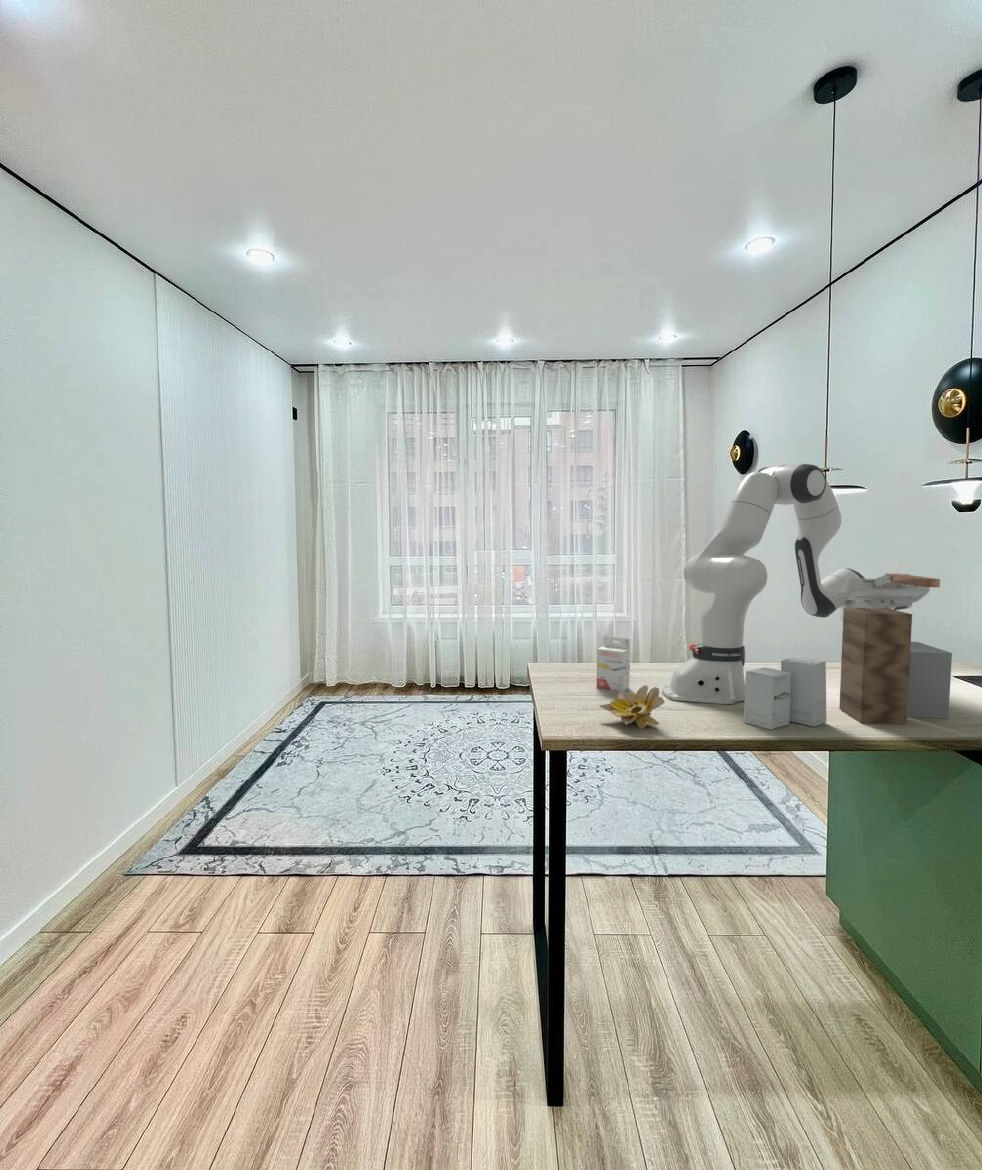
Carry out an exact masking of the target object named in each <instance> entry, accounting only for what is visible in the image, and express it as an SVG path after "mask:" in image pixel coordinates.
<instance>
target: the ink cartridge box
mask: <svg viewBox="0 0 982 1170" xmlns="http://www.w3.org/2000/svg"><path fill="white" fill-rule="evenodd" d="M616 641H617V642H620V643H616ZM596 651H597V653H596V688H597V689H604V690H609V689H610V691H615V690H617V692H622V691H624V692H626V690H628V689H630V676H631V675H630V671H631V670H630V669H631V668H630V667H631V664H630V663H631V661H630V660H631V659H630V658H631V649H630V639H629V638H628V637H627V638H626V637H624V638H623V637H619V636H618V637H617V636H615V637H614V636H606V635H604V636H603V646H601V647H598V648H597V650H596Z"/></svg>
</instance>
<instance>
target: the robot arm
mask: <svg viewBox="0 0 982 1170" xmlns="http://www.w3.org/2000/svg"><path fill="white" fill-rule="evenodd" d="M824 473H825V472H823V470H822V469H821V468H820V467H819V466H817V465H815V464H809V463H802V464H782V465H781V464H779V465H773V466H771V467H770V466H769V467H768V466H767V467H766V466H765V467H762V468H759V469H757V470H755V471H753V472H751V473H748V474H747V475H746V476H745V477H744V478H743V479H742V481H741V482H740V484H739V485H738V487H737V488H736V490H735V492H734V494H733V497H732V498H731V501H730V503H729V505H728V507H727V510H726V512H725V514H724V517H723V519H722V521H721V524H720V526H719V528H718V530H717V531H716V532H715V534H714V535H713V536H712V538H711V539H710V540H709V542H708V543H707V544H706V545H705V546H704V548H703V549H702V550H700V551H699V552H698V553H697V554H696V555H694V556H692V557H690V558H689V559H688V560H687V561H686V563H685V565H684V569H683V578H684V581H685V583H686V584H687V586H688V587H690V588H692V589H693V590H696V591H698V592H701V593H707V594H713V595H714V597H713V601H712V603H711V606H710V608H709V609H708V610H706V611H705V612H703V613H702V614H701V615H702V616H701V618H700V639H699V640H700V643H698V644H695V643H689V645H688V650H690V651H691V652H692V657H690V658H689V659H688V660H686V661H685V662H683V663H682V664H680V665H679V666H678V667H676V668H675V669H674V670H673V671H672V675H671V679H670V684H665V685H664V686H663V687H662V692H661V693H662V695H664V696H665V697H666V698H667V699H670V700H673V701H682V702H695V703H696V702H697V703H706V704H707V703H708V704H718V705H719V704H720V705H732V704H735V703H737V702H743V701H745V680H746V679H745V675H744V673H745V672H744V671H745V670H744V667H745V662H746V650H745V649H746V647H745V646H744V633H745V632H744V630H745V620H746V615H747V612H748V609H749V607H750V605H751V603H752V601H753V600H754V598H755V597H756V596H758V595H759V594H760V593H762V591H763V590H764V588H765V587H766V584H767V582H768V581H767V580H768V571H767V570H768V569H767V568H766V565H765V564H764V563H763V562H762V561H761V560H759V559H757V558H756V559H755V558H754V557H751V556H747V555H745V554H746V553H747V552H748V551H749V550H751V549H753V548H754V547H756V546H757V545H758V544H760V542H761V541H762V537H763V535H764V533H765V530H766V528H767V525H768V523H769V521H770V518H771V515H772V513H773V510H774V508H775V505H783V506H786V505H793V509H794V513H795V516H796V519H797V523H798V524H797V525H798V527H797V528H798V531H797V537H796V540H795V542H794V553H795V561H796V566H797V571H798V578H799V583H800V602H801V605H802V608H803V609H804V611H805V612H807V614H809V615H810V616H813V617H816V618H828V617H830V615H832V614H833V613H835V612H836V611H837V610H838V609H840V619H841V622H842V623H843V611H844V608H888V609H892V610H896V611H900V610H905V609H906V610H907V609H911V608H912V607H913V604H914V603H916V602H918V601H920V600H922V599H923V598H924V597H926V595H928V594H929V593H930V588H931V587H921V586H914V585H908V584H902V583H895V582H891V581H892V579H893V578H892V574H893V573H885V574H883V576H879V577H877V578H865V576H864V575H863V574H861V573H860V572H859V571H857V570H855V569H852V568H847V567H840V568H839V569H837V570H835V571H834V572H832V573H831V574H829V575H827V576H826V577H824V578H823V579H821V575H820V568H819V558H820V555H821V553H822V552H823V550H824V548H825V547H826V546H827V544H828V543H829V542H831V540H832V539H833V538H834V537H835V536H836V534H837V533H838V532H839V529H840V527H841V524H842V515H841V510H840V507H839V505H838V504H839V503H838V502H837V499H836V496H835V493H834V491H833V489H832V487H831V486H830V484H829V482H828V481H827V479H826V475H825V474H824ZM903 574H904V573H903ZM904 575H910V574H909V573H905V574H904Z"/></svg>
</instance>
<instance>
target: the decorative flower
mask: <svg viewBox="0 0 982 1170" xmlns="http://www.w3.org/2000/svg"><path fill="white" fill-rule="evenodd" d="M649 688H650V687H649V685H648V684H647V685H646V684H645V685H642V686H641V687H640V688H638V690H637V691H636V693H633V692H629V691H619V693H618V695H617V697H618V698H612V700H611V701H609V703H606V704H600V705H598V707H599V708H602V709H604V710H606V711H607V712H610V713H611V715H614V716H616V717H619V718H621V717H622V718H621V719H622V720H623V723H624V724H625V725H628V724H632V723H633V722H635V723H636V725H637V727H638V729H641V730H643V729H645V728H646V725H647V724H649V725H652V726H658V725H660V722H659V721H657V720H656V719H655V718H653V717H652V713H653V710H655V709H657V708H660V707H661V706H662V705H664V703H665V700H664V698H663V697H661V696H660V689H659V687H656V686H654V687H652V688H650V690H649Z"/></svg>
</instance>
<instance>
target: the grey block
mask: <svg viewBox="0 0 982 1170" xmlns="http://www.w3.org/2000/svg"><path fill="white" fill-rule="evenodd" d="M952 659H953V652H950V651H947V650H944V649H940V648H938V647H935V646H931V645H928V644H925V643H922V642H919V641H911V647H910V666H909V686H908V705H907V718H921V719H922V718H923V719H925V718H927V719H929V718H930V719H949V716H950V715H949V713H950V712H949V710H950V698H951V697H950V695H951V694H950V693H951V679H952V677H951V676H952V663H953V661H952Z"/></svg>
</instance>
